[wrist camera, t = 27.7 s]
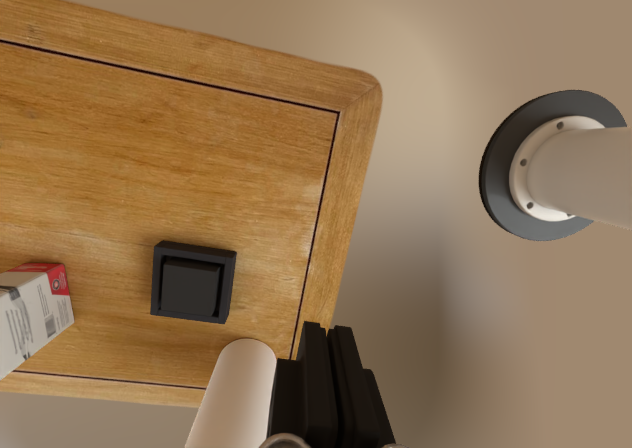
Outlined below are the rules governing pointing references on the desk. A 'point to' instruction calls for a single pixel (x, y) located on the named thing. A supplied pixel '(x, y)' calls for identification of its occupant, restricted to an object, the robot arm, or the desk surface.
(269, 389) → the cup
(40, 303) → the ink box
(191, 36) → the desk surface
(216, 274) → the black pad
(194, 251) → the socket pad
